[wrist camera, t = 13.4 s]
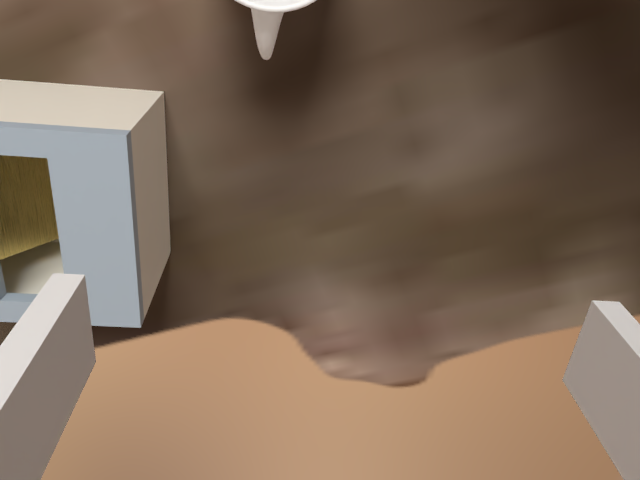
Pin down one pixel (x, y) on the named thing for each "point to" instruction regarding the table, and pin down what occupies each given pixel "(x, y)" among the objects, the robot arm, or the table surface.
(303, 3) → the mug
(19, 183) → the block
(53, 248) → the coin box
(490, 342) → the table surface
